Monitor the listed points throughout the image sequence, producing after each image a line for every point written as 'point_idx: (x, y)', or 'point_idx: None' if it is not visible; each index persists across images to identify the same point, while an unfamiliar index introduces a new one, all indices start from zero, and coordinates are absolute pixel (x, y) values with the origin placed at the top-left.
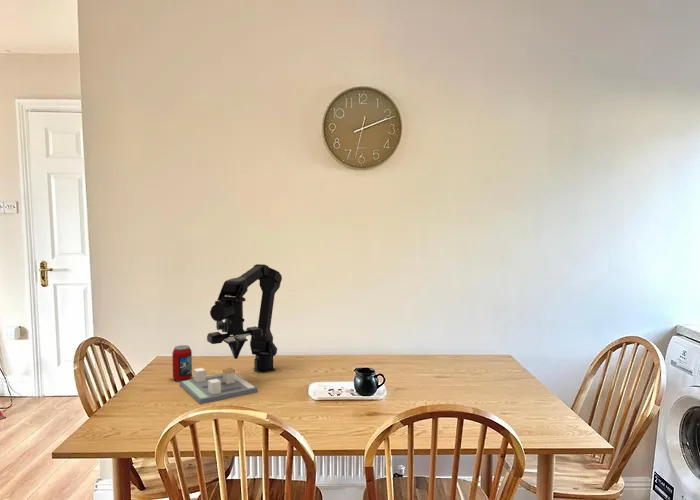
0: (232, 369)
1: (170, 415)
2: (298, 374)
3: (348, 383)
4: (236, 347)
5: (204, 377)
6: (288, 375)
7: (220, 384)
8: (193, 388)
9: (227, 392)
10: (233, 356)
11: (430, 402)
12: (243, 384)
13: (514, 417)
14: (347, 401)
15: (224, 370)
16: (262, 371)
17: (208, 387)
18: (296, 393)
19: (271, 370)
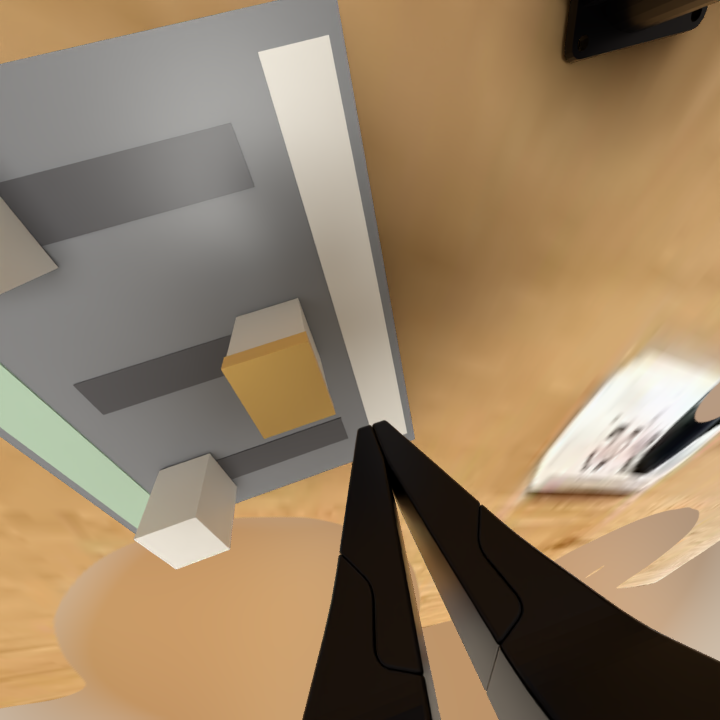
0: (315, 394)
1: (44, 589)
2: (692, 220)
3: (696, 391)
4: (431, 677)
5: (23, 280)
6: (648, 218)
7: (230, 531)
8: (15, 413)
9: (271, 477)
10: (355, 446)
11: (677, 505)
12: (362, 394)
13: (684, 542)
14: (579, 500)
15: (240, 398)
16: (587, 56)
17: (153, 497)
18: (519, 449)
19: (658, 38)
